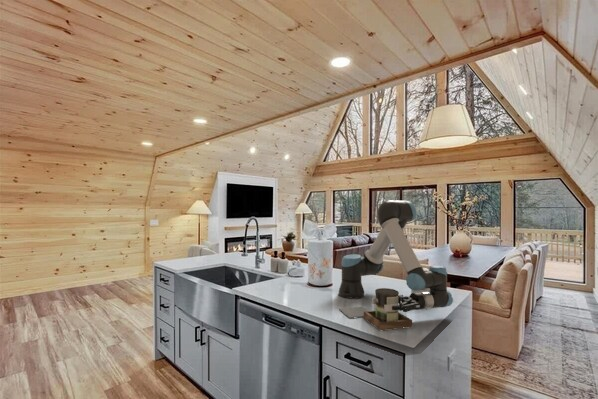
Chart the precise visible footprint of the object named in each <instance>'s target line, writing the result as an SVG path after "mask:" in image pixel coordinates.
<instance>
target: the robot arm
mask: <svg viewBox="0 0 598 399" xmlns="http://www.w3.org/2000/svg"><path fill="white" fill-rule="evenodd" d="M376 214H377V216H376V217H377V220H378V223H379V226H380V227H381V229H380V231H379V233H378V235H377V236H376V238H375V240H374V241H373V243H372V245H371V247H370V248H369V249H367V250H366V251H365V252H364V253H363V255H360V254H358V253H357V254H355V253H353V254H346V255H344V256H342V258H341V264H340V265H341V283H340V286H339V289H338V295H339V296H340V297H342V298H346V299H361V298H364V297H365V289H364V285H363V283H362V277H364V276H365V277H366V276H373V275H378V274H380V273H381V272H382V271H383V269H384V256H385V254H386V252H387V250H388V249H389V248H390V246H391V245H392V247H393V248H394V249H393V250H395V253H396V255H397V256H398V259H399V261H400V262H401V264H402V266H403V268H404V270H405V273H406V275H407V276H406V278H405V281H406V286H407V287H408V288H409V289H410V290H423V289H427V288H430V291H429V292H418V293H411V292H410V294H409V296H407V295H405V296H404V295H403V294H398V304H388V305H384V311H385V312H387V311H397V310H398V312H399V311H401V312H403V313H406V312H407V313H408V312H411V311H414V310H417V311H418V310H428V309H437V308H446V307H450V306H452V305H453V302H454V299H453V296H452V293H451V292H450V291H449V290H448V272H447V268H446V267H445V266H443V265H438V264H437V265H436V264H435V265H430V266H429V267H428V269H429V271H427V272H424V270H423V268H424V267H423V266H422V265H421V262H420V261H419V258H417V255H416V253H415V251H414V249H413V248H412V246H411V244H410V242H409V240H408V239H407V237H406V235H405V233H404V231H403V229H404V228H405V226H406V225H407V223H409V222H412V221H414V220H415V218H416V216H417V210H416V207H415V205H414V203H412V202H411V201H409V200H404V199H403V200H393V199H392V200H391V199H390V200H385V201H382V202H381V203H380V205H379V207H378V208H377V213H376ZM446 272H447V273H446ZM375 303H376V300H375V297H372V298H371V304H372V305H376V304H375Z"/></svg>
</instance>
